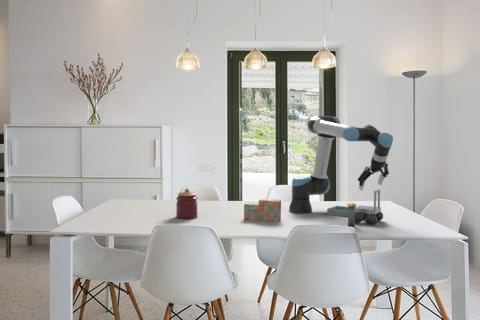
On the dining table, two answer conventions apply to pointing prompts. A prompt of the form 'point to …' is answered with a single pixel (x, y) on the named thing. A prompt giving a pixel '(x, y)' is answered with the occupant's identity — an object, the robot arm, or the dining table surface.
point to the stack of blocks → (263, 210)
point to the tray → (338, 211)
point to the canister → (186, 205)
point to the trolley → (369, 212)
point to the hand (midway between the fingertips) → (370, 186)
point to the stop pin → (351, 214)
